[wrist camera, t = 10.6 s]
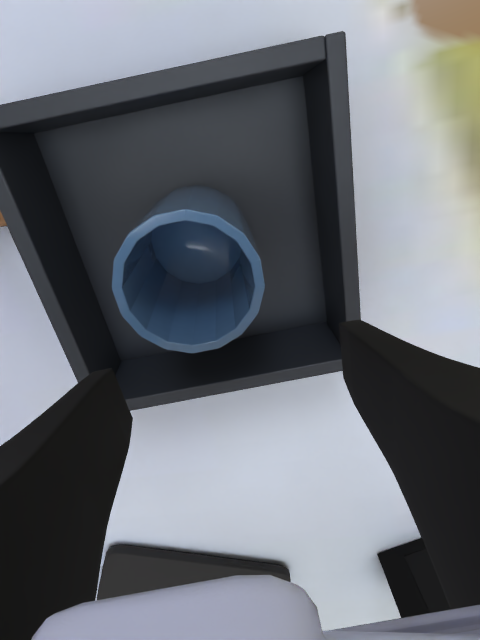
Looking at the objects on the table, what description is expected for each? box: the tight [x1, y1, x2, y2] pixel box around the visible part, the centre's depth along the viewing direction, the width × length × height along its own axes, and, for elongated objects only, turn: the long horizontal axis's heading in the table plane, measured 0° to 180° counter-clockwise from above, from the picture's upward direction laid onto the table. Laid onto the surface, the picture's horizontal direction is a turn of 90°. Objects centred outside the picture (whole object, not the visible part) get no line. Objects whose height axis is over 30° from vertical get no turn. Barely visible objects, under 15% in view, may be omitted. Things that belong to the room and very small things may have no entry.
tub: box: [0, 31, 361, 411], centre depth 18 cm, size 13×13×4 cm
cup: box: [112, 185, 265, 353], centre depth 16 cm, size 5×5×7 cm
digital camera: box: [377, 539, 450, 618], centre depth 29 cm, size 10×5×7 cm, turn 116°
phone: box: [97, 545, 291, 600], centre depth 32 cm, size 7×1×15 cm
